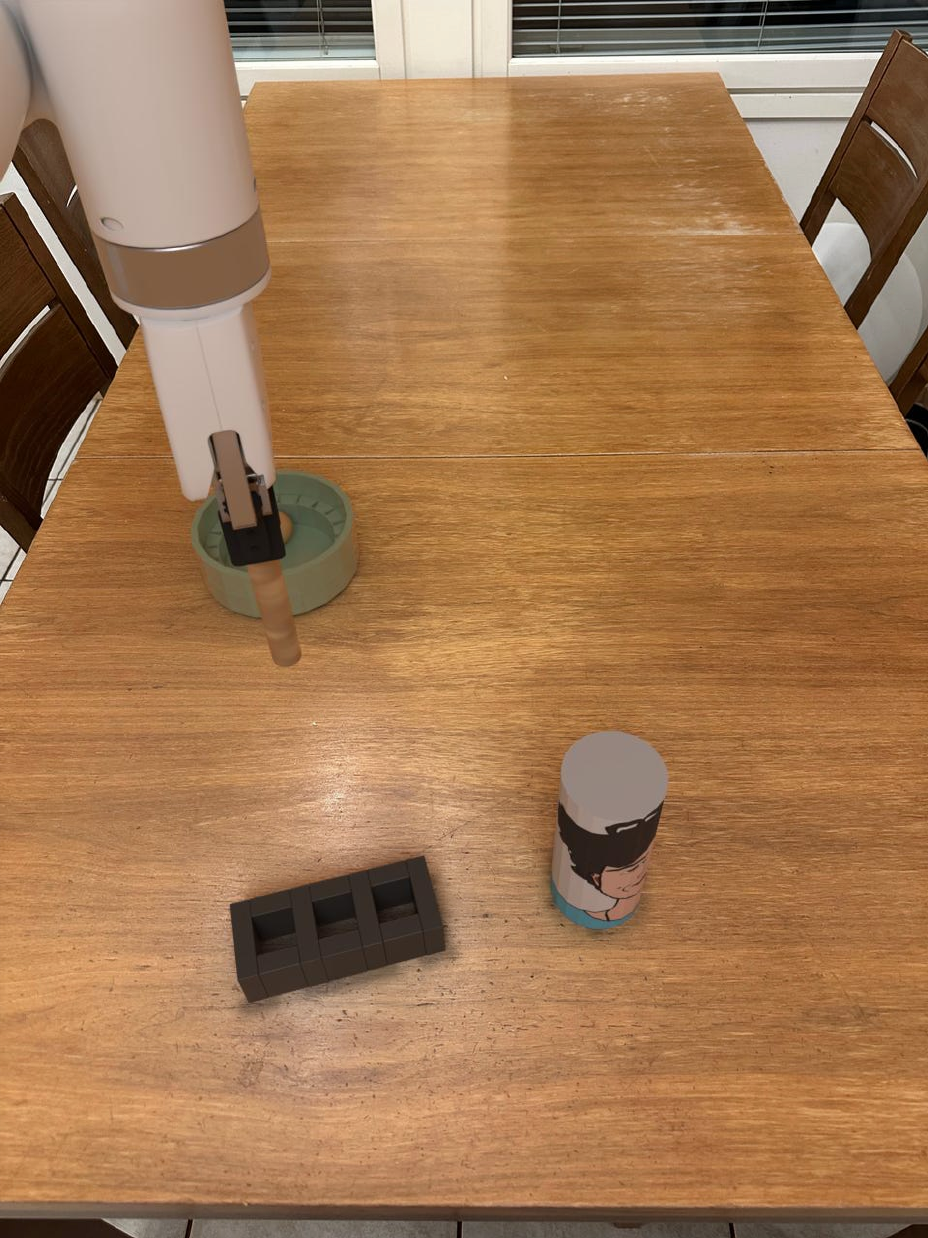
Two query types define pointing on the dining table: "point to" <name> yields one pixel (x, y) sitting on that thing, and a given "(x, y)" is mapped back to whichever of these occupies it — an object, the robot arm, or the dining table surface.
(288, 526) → the dough ball
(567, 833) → the printed cylindrical canister
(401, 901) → the holder
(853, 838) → the dining table surface
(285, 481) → the bowl
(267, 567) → the stick
